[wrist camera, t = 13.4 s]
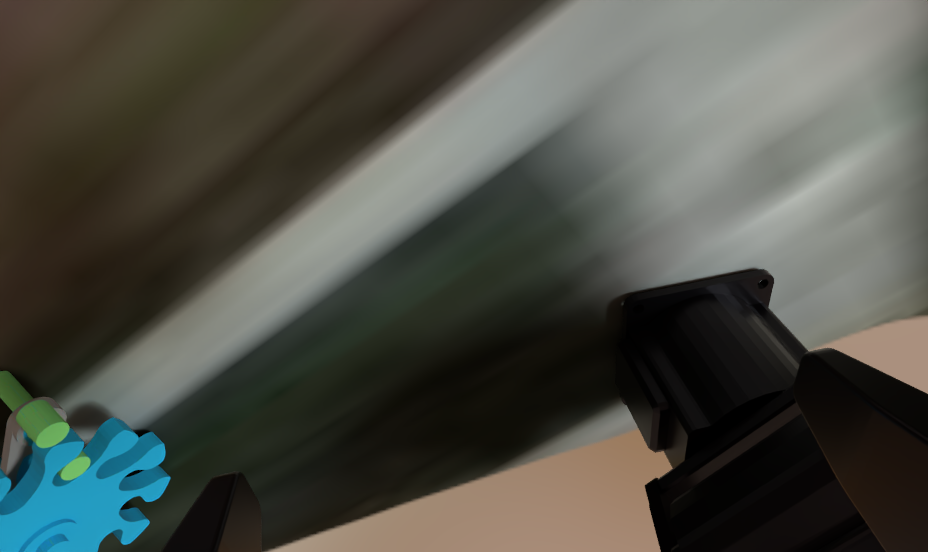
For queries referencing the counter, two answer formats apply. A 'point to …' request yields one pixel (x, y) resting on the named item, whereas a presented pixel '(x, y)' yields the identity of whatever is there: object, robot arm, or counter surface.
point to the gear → (70, 478)
